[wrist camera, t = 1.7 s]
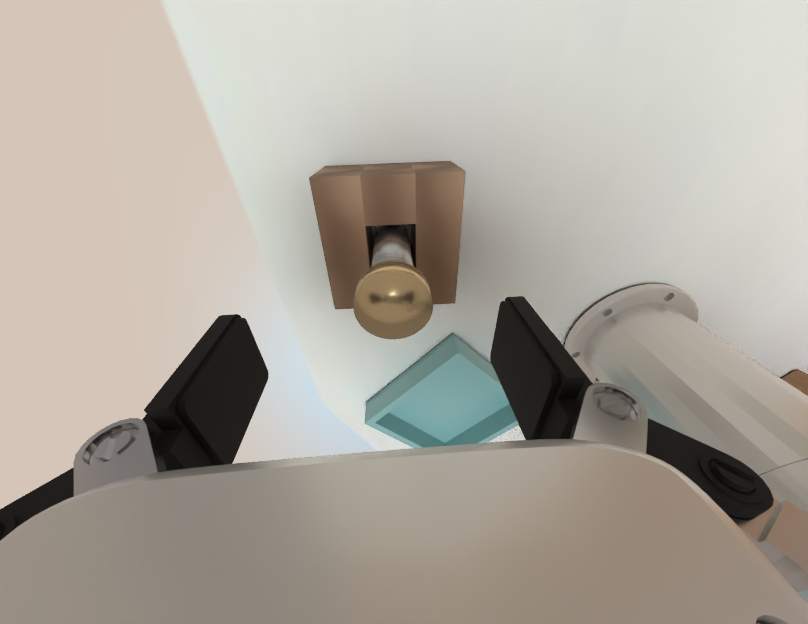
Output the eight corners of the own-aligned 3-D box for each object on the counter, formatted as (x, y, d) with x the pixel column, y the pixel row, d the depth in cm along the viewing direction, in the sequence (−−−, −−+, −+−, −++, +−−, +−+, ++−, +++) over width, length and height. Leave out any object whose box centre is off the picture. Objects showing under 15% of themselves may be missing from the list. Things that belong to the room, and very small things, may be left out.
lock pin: (422, 224, 23) (449, 305, 13) (393, 255, 25) (396, 350, 15) (389, 192, 22) (389, 255, 12) (359, 227, 23) (337, 311, 13)
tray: (527, 392, 35) (538, 413, 33) (443, 443, 41) (447, 464, 38) (452, 332, 30) (458, 352, 27) (366, 401, 35) (364, 423, 32)
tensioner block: (450, 160, 21) (465, 171, 17) (444, 273, 26) (455, 303, 22) (325, 166, 21) (309, 178, 16) (343, 278, 26) (335, 309, 21)
